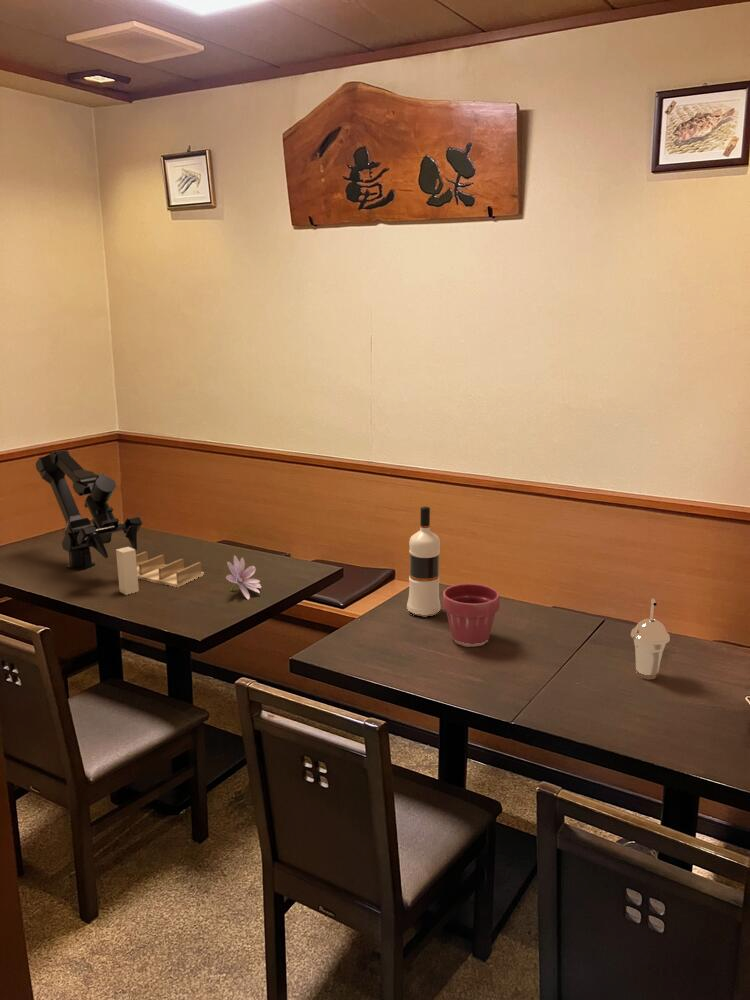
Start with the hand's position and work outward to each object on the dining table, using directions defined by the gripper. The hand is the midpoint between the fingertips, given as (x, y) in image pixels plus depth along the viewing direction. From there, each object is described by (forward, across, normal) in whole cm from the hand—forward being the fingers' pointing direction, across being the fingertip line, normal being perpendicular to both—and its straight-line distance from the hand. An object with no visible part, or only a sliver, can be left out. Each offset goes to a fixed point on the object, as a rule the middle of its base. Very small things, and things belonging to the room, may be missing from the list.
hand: (121, 554), depth 235 cm
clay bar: (+10, 0, -6) cm, 11 cm away
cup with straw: (+104, -58, +88) cm, 148 cm away
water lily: (+28, -23, +12) cm, 38 cm away
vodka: (+61, -50, +45) cm, 90 cm away
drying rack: (+6, -14, -10) cm, 18 cm away
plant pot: (+75, -44, +59) cm, 105 cm away
